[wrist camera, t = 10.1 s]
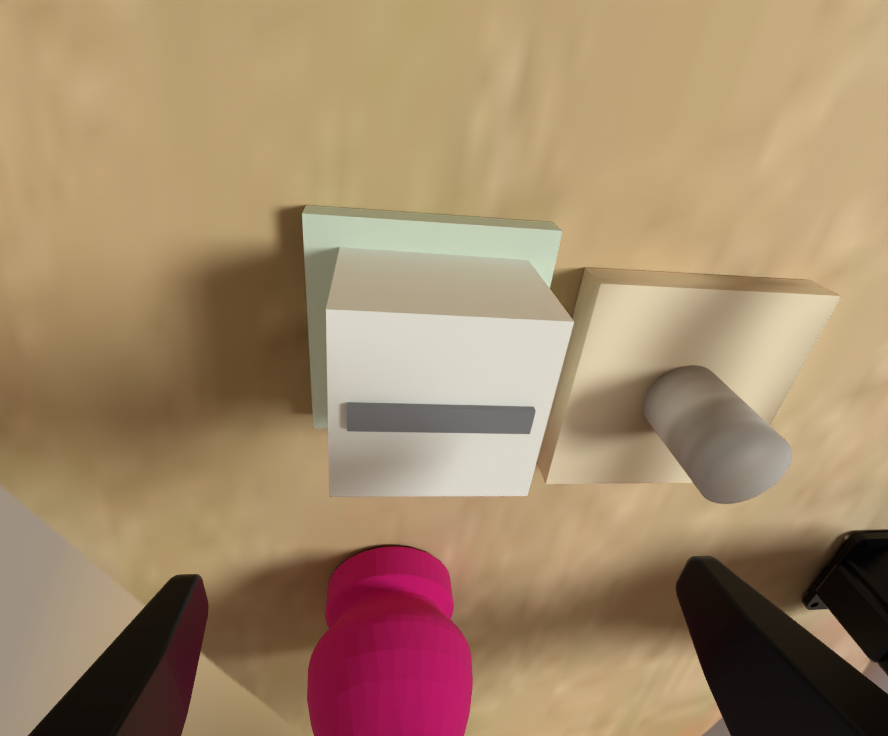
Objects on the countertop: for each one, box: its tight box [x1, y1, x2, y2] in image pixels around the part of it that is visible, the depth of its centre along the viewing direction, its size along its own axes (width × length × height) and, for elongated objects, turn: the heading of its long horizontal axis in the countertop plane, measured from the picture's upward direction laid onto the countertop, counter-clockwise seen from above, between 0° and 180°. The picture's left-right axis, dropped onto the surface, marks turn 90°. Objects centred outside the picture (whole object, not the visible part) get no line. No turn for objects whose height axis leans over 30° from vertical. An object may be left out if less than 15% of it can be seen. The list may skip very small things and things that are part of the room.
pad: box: [302, 205, 562, 428], centre depth 18 cm, size 8×8×1 cm
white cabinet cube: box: [326, 247, 574, 497], centre depth 15 cm, size 6×6×5 cm
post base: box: [537, 268, 841, 504], centre depth 18 cm, size 9×9×6 cm
